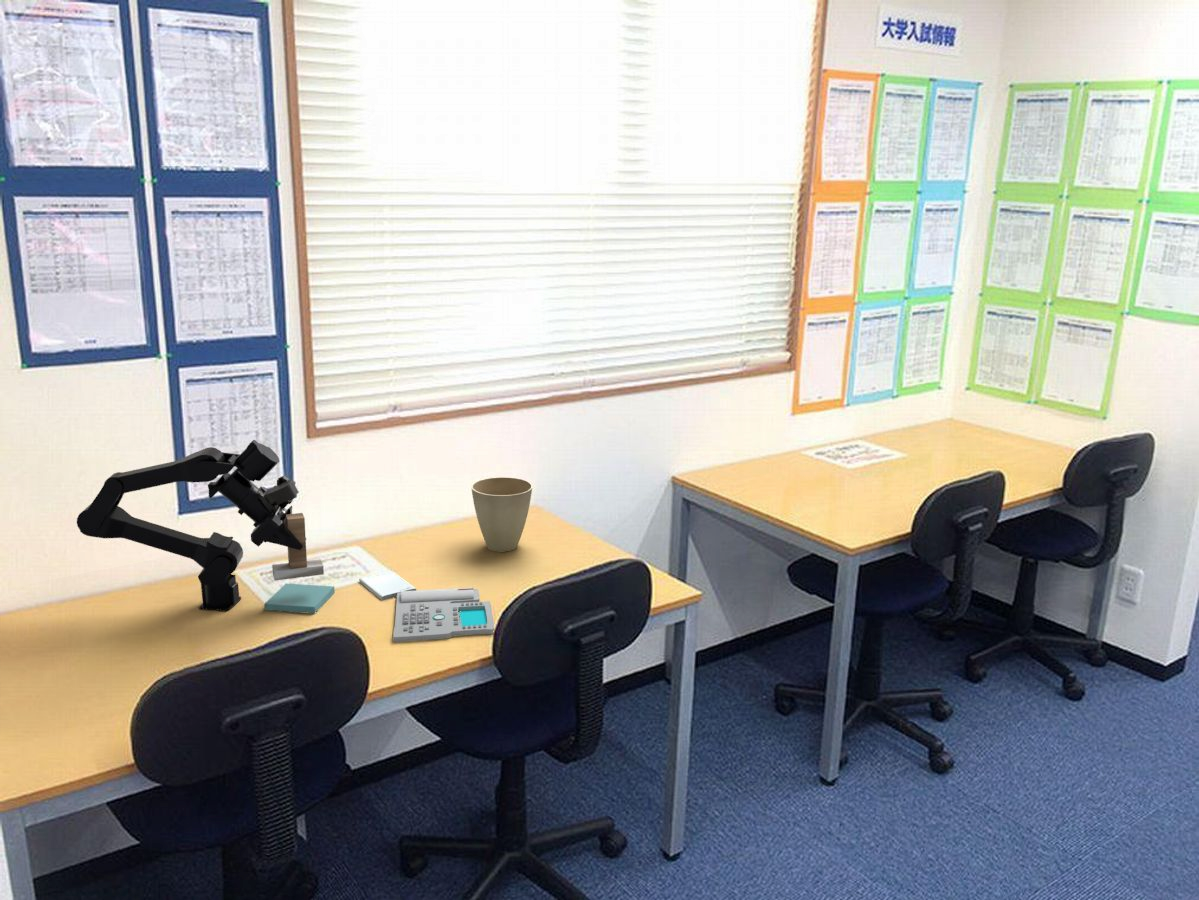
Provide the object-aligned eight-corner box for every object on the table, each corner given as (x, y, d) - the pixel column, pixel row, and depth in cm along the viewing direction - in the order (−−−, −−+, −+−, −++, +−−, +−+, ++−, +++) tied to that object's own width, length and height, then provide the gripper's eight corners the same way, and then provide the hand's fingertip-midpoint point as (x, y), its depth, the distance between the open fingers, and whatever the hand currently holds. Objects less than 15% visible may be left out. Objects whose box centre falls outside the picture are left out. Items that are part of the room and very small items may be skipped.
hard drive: (416, 587, 219) (392, 569, 229) (381, 596, 215) (358, 577, 224) (416, 594, 220) (392, 576, 229) (382, 603, 215) (359, 584, 225)
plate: (264, 610, 209) (264, 603, 208) (286, 589, 219) (285, 583, 219) (315, 613, 208) (314, 607, 207) (334, 592, 218) (334, 586, 218)
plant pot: (459, 549, 245) (458, 487, 241) (498, 532, 257) (497, 473, 253) (507, 562, 237) (506, 498, 233) (544, 544, 249) (544, 483, 245)
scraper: (323, 574, 212) (320, 516, 208) (274, 580, 208) (271, 521, 205) (321, 567, 215) (318, 510, 212) (272, 573, 212) (269, 515, 208)
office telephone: (396, 586, 217) (488, 581, 220) (396, 597, 218) (488, 592, 221) (392, 630, 195) (495, 624, 198) (393, 643, 196) (495, 636, 199)
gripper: (263, 482, 196) (323, 533, 201) (280, 456, 214) (335, 504, 218) (225, 520, 197) (285, 571, 202) (244, 492, 215) (300, 539, 219)
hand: (303, 544), depth 210 cm, fingers closed on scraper, 4 cm apart
